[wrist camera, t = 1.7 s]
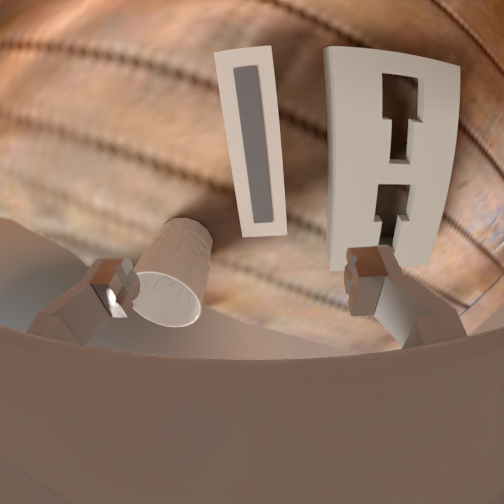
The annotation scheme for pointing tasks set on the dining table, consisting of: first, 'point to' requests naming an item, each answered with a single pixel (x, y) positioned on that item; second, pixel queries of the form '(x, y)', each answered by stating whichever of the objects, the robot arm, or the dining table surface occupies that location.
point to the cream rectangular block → (253, 138)
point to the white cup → (174, 273)
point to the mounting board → (386, 151)
